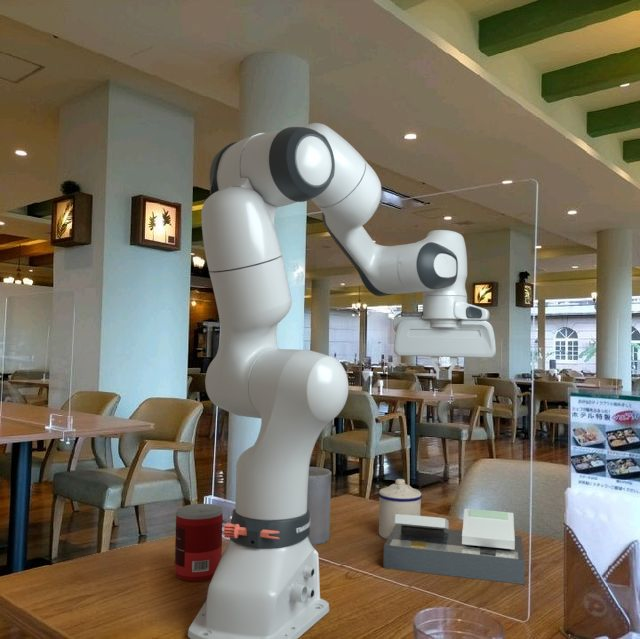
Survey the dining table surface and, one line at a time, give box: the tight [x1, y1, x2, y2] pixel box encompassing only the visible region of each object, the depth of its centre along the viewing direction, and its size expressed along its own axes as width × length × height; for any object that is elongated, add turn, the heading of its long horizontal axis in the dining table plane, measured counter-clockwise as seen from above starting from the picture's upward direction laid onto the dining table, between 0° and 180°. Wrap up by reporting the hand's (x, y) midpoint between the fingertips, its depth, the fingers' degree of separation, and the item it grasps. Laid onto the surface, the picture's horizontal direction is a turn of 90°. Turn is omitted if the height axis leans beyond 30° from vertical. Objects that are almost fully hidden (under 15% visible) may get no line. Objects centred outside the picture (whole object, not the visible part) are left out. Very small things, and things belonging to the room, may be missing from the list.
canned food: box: [174, 503, 224, 583], centre depth 108 cm, size 8×8×11 cm
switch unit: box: [383, 524, 526, 585], centre depth 115 cm, size 14×24×5 cm, turn 74°
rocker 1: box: [395, 514, 450, 529], centre depth 118 cm, size 10×9×2 cm
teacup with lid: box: [377, 478, 423, 540], centre depth 132 cm, size 12×9×12 cm
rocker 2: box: [462, 508, 516, 550], centre depth 115 cm, size 10×9×2 cm
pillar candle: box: [307, 465, 332, 546], centre depth 128 cm, size 10×10×15 cm
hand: (443, 379), depth 126 cm, fingers closed
